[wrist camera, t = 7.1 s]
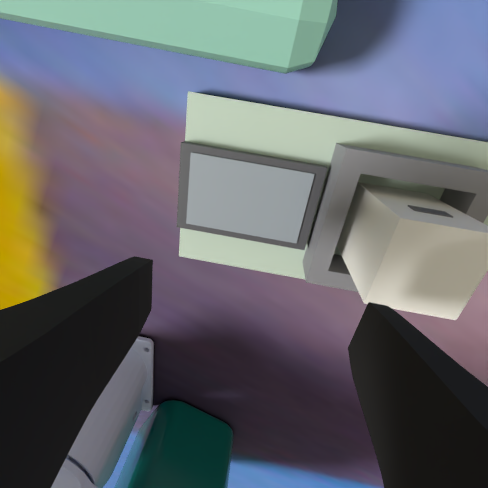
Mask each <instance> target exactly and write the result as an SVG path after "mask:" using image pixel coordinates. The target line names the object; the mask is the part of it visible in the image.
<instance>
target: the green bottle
mask: <svg viewBox="0 0 488 488" xmlns="http://www.w3.org/2000/svg"><path fill="white" fill-rule="evenodd" d="M233 439H234V435H233V432H232V429H231V427H230V426H229V425H228V424H227V423H226V422H224V421H222V420H220V419H218V418H216V417H214V416H211V415H209V414H207V413H205V412H203V411H201V410H199V409H197V408H195V407H193V406H191V405H189V404H187V403H185V402H183V401H179V400H168V401H165V402H163V403H160V405H159V406H158V407H157V408H156V409H155V411H154V412H153V413H152V414H151V416H150V417H149V418H148V419H147V420H146V422H145V423H144V424H143V425H142V427H141V428H140V429H139V431H138V434H137V436H136V438H135V441H134V443H133V445H132V448H131V450H130V452H129V455H128V457H127V459H126V462H125V464H124V466H123V469H122V471H121V474H120V476H119V478H118V481H117V483H116V485H115V488H227V486H228V478H229V470H230V462H231V454H232V447H233Z"/></svg>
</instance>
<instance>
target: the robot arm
mask: <svg viewBox="0 0 488 488" xmlns="http://www.w3.org/2000/svg"><path fill="white" fill-rule="evenodd" d="M152 264H153V260H150V259H145V258H140V257H132V258H129V259H126V260H124V261H122V262H119V263H117V264H115V265H113V266H110V267H108V268H106V269H104V270H102V271H99V272H97V273H95V274H93V275H90V276H88V277H86V278H84V279H81V280H79V281H77V282H74V283H72V284H69V285H67V286H64V287H62V288H59V289H57V290H54V291H52V292H49V293H47V294H44V295H42V296H39V297H37V298H34V299H31V300H29V301H26V302H23V303H20V304H17V305H14V306H11V307H8V308H5V309H2V310H0V488H103V486H104V485H105V484H106V483H107V481H108V480H109V478H110V476H111V475H112V473H113V471H114V468H115V466H116V464H117V462H118V460H119V457H120V455H121V453H122V451H123V448H124V446H125V444H126V442H127V440H128V437H129V435H130V433H131V431H132V428H133V426H134V424H135V422H136V420H137V417H138V415H139V413H140V411H141V410H144V411H150V410H151V409H152V407H153V354H154V343H153V341H152V340H151V339H149V338H145V337H140V336H139V334H140V332H141V330H142V328H143V326H144V324H145V322H146V320H147V317H148V315H149V313H150V311H151V303H152ZM348 351H349V358H350V364H351V370H352V375H353V380H354V383H355V387H356V390H357V393H358V397H359V400H360V403H361V407H362V410H363V413H364V416H365V420H366V423H367V426H368V429H369V433H370V436H371V439H372V442H373V446H374V449H375V452H376V455H377V459H378V463H379V467H380V470H381V474H382V479H383V483H384V488H488V387H487V386H486V385H484V384H483V383H482V382H481V381H479V380H478V379H477V378H476V377H474V376H473V375H472V374H470V373H469V372H468V371H467V370H465V369H464V368H463V367H462V366H460V365H459V364H458V363H457V362H456V361H454V360H453V359H452V358H451V357H449V356H448V355H447V354H446V353H445V352H443V351H442V350H441V349H440V348H439V347H437V346H436V345H435V344H434V343H433V342H432V341H430V340H429V339H428V338H427V337H426V336H424V335H423V334H422V333H421V332H420V331H419V330H417V329H416V328H415V327H414V326H413V325H412V324H410V323H409V322H408V321H407V320H405V319H404V318H403V317H402V316H401V315H399V314H398V313H397V312H395V311H394V310H393V309H391V308H390V307H389V306H386V305H381V304H376V303H371V302H369V303H368V305H367V307H366V309H365V311H364V314H363V316H362V318H361V320H360V323H359V325H358V327H357V329H356V331H355V334H354V336H353V338H352V340H351V342H350V345H349V347H348Z"/></svg>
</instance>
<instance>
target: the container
mask: <svg viewBox="0 0 488 488" xmlns="http://www.w3.org/2000/svg"><path fill="white" fill-rule="evenodd" d="M337 2H338V0H0V18H1V19H6V20H12V21H17V22H22V23H27V24H32V25H37V26H43V27H48V28H53V29H58V30H63V31H68V32H74V33H79V34H84V35H89V36H94V37H99V38H105V39H110V40H115V41H120V42H125V43H130V44H136V45H141V46H146V47H151V48H156V49H161V50H167V51H172V52H177V53H182V54H187V55H192V56H198V57H203V58H208V59H213V60H218V61H223V62H229V63H234V64H239V65H244V66H249V67H254V68H260V69H265V70H270V71H275V72H280V73H285V74H286V73H289V72H293V71H296V70H300V69H303V68H307V67H310V66H311V65H312V64H313V63H314V61H315V60H316V57H317V55H318V53H319V51H320V49H321V47H322V45H323V43H324V41H325V38H326V36H327V34H328V32H329V30H330V28H331V26H332V24H333V22H334V20H335V17H336V13H337Z"/></svg>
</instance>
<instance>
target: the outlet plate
mask: <svg viewBox="0 0 488 488" xmlns="http://www.w3.org/2000/svg"><path fill="white" fill-rule="evenodd" d="M358 182H361V183H367V184H373V185H379V186H385V187H390V188H396V189H402V190H408V191H414V192H419V193H425V194H429V195H431V196H433V197H434V198H436V199H438V200H440V201H442V202H444V203H446V204H448V205H449V206H451V207H453V208H455V209H457V210H459V211H461V212H463V213H465V214H466V215H468V216H470V217H472V218H474V219H476V220H478V221H480V222H482V223H483V224H485V225H487V226H488V142H483V141H477V140H471V139H465V138H459V137H453V136H447V135H442V134H436V133H430V132H424V131H418V130H412V129H406V128H400V127H394V126H388V125H383V124H377V123H371V122H365V121H359V120H353V119H347V118H341V117H335V116H330V115H324V114H318V113H312V112H306V111H300V110H294V109H288V108H282V107H276V106H271V105H265V104H259V103H253V102H247V101H241V100H235V99H229V98H223V97H217V96H212V95H206V94H200V93H194V92H188V99H187V117H186V136H185V141H184V142H181V150H180V171H179V192H178V212H177V227H179V228H180V245H179V256H181V257H186V258H192V259H197V260H203V261H208V262H214V263H219V264H224V265H230V266H235V267H241V268H246V269H251V270H257V271H262V272H268V273H273V274H279V275H284V276H289V277H295V278H300V279H306V282H307V283H312V284H318V285H323V286H329V287H334V288H339V289H345V290H350V291H356V292H358V290H357V288H356V285H355V283H354V281H353V279H352V277H351V275H350V273H349V270H348V268H347V266H346V264H345V262H344V260H343V258H342V255H341V253H340V251H339V249H338V247H337V243H338V240H339V237H340V234H341V231H342V228H343V225H344V222H345V219H346V216H347V213H348V210H349V207H350V204H351V201H352V198H353V195H354V192H355V189H356V186H357V183H358Z"/></svg>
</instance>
